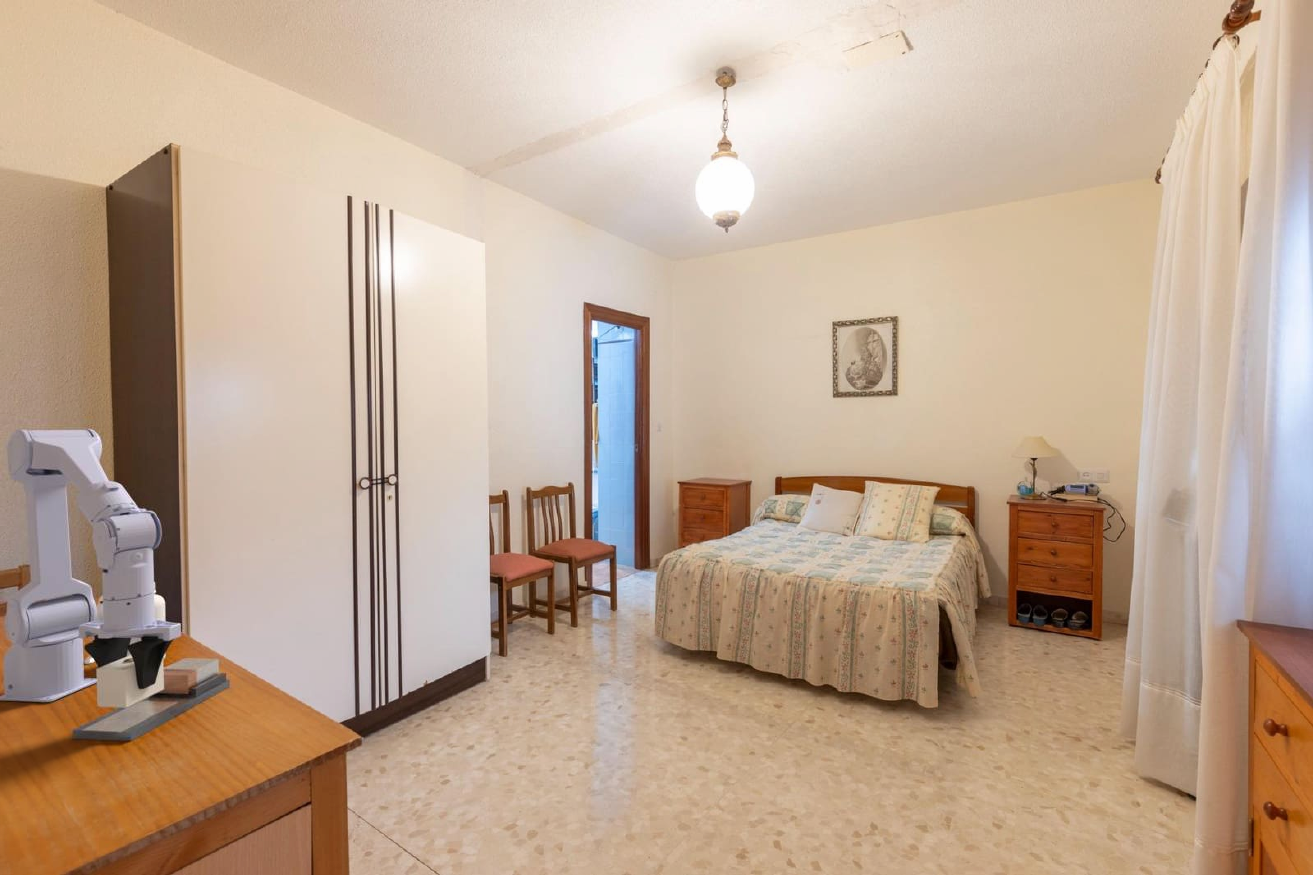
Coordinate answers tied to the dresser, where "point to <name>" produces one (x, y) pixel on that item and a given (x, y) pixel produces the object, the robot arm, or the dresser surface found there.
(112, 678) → the block
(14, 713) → the dresser surface
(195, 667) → the block
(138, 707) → the base plate
